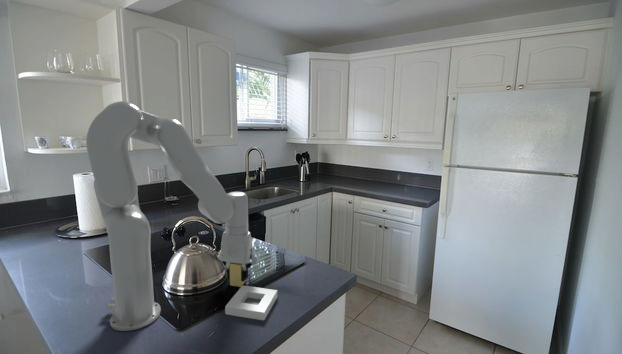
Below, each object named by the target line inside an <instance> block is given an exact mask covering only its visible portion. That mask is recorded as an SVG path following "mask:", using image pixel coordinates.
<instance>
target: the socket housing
mask: <svg viewBox="0 0 622 354" xmlns="http://www.w3.org/2000/svg"><path fill="white" fill-rule="evenodd" d="M277 299H278V289H270V288H263V287H258V286H257V287H256V286H250V285H249V286H248V285H244V284H243V285H242V286H241V287H239V289H238V291H236V293H235V294H234V295H233V296H232V297H231V299H230V300H229V301H228V302H227V304H226V305H225V308H224V312H225V313H224V315H229V316H233V317H234V316H235V317H241V318H247V319H252V320H257V321H258V320H259V321H265V320H266V318H267V317H268V314H270V311H271V310H272V308H273V306H274V304H275V303H276V301H277Z"/></svg>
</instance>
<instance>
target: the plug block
mask: <svg viewBox="0 0 622 354" xmlns="http://www.w3.org/2000/svg"><path fill="white" fill-rule="evenodd" d="M242 270H243V267H242V264H239V263H230V280H229V285H230V286H231V287H239V288H241V287H242V285H243V286H244V284H245V282H246V281H247V279H246V280H245V281H244V282H242Z"/></svg>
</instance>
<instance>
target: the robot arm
mask: <svg viewBox="0 0 622 354" xmlns="http://www.w3.org/2000/svg"><path fill="white" fill-rule="evenodd" d="M85 139H86V140H85V141H86V150H87V154H88V158H89V159H88V160H89V163H90V167H91V171H92V175H93V178H94V180H93V190H94V192H95V196H96V200H97V202H98V206H99V210H100V212H101V213H100V214H101V216H102V219H103V223H104V225H105V226H104V227H105V229H106V232H107V236H108V237H107V239H108V243H109V244H108V245H109V257H110V268H111V269H110V270H111V275H112V276H111V278H112V287H113V288H112V289H113V295H114V296H112V297H111V298H110V299H109V301H108V304H106V306H105V309H106V310H112V315H111V317H110V319H109V326H110V327H111V328H112V329H113V330H115V331H118V332H119V331H120V332H130V331H134V330H139V329H142V328H144V327H146V326H148V325H150V324H152V323H153V322H155V321H156V320H157V319H158V318H159V316H160V314H161V311H162V309H161V305H160V304H159V303H158V302H156V301H155V296H154V293H155V292H154V281H153V270H152V269H153V268H152V267H153V266H152V257H151V255H152V254H151V226H150V222H149V220H148V218H147V217H146V215H145V214H144V213H143V212H142V210H141V207H140V205H139V200H138V197H137V196H138V191H139V187H138V184H137V181H136V178H135V173H134V170H133V167H132V163H131V160H130V159H131V158H130V154H129V149H128V148H129V141H130V139H134V140H137V141H140V142H143V143H144V142H145V143H148V144H151V145H155V146H158V148H159V149H160V151H161V152H162V154H163V155H164V157H165V158H166V160H167V161H168V163H169V164H170V165H169V166H170V167H171V168H172V169H173V172H174V173H175V174H176V176H177V177H178V178H179V179H180V181H181V182H182V183H184V185H185V186H186V187H188V188H189V189H190V190H191V191H192V192H193V194H194V195H195V196H196V198H197V199H198V202H197V207H198V211H199V212H200V213H201V214H202V215H203V216H205V217H206V218H208V219H209V220H210V221H212V222H213V223H214V224H220V225H221V228H222V229H224V231H223V232H222V237H221V242H220V243H221V244H220V253H219V255H218V256H217V259H218V260H219V261H220V262H222V264H223V265H224V266H225V268H226V271H227V279H228V280H229V281H230V263H239V264H242V267H243V270H242V282H244V281H245V280H246V281H247V279H248V278H249V269H250V268H251V267H252V266H254V265H255V264H257V263H258V259H257V257H256V255H255V254H254V249H253V239H252V235H251V232H250V231H249V198H248V195H247V193H246V192H243V191H230V192H228V193H227V192H226V190H225V189H224V186H222V184H221V183H220V181H219V180H218V178H217V177H216V176H215V175H214V173H213V171H211V169H210V167H209V166H208V165H207V163H206V162H205V161H204V159H203V158H202V155H201V154H200V152H199V150H198V149H197V147H196V145H195V144H194V141H193V140H192V138H191V137H190V135H189V133H188V132H187V130H186V128H185V126H184V125H183V124H182V123H181V122H180V121H179V120H178V119H174V118H169V117H168V118H167V117H161V116H158V115H155V114H152V113H149V112H146V111H143V110H141V109H140V107H138V106H136V105H135V104H134V103H131V102H128V101H123V100H122V101H115V102H113V103H110V104H108V105H107V106H105V108H104V109H103V110H101V111H100V113H98V114H97V115H96V116H95V118H94V119H93V120H92V122H91V123H90V126H89V127H88V130H87V134H86V138H85ZM250 260H251V261H250ZM246 281H245V282H246Z"/></svg>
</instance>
